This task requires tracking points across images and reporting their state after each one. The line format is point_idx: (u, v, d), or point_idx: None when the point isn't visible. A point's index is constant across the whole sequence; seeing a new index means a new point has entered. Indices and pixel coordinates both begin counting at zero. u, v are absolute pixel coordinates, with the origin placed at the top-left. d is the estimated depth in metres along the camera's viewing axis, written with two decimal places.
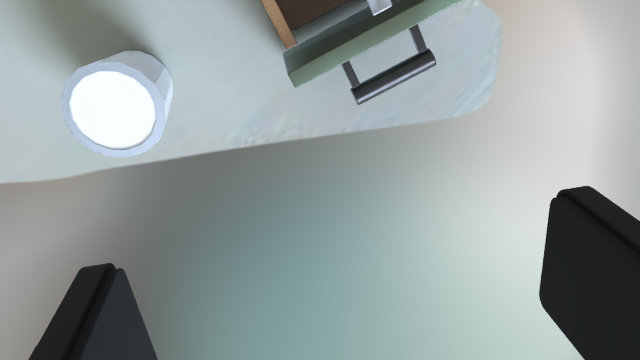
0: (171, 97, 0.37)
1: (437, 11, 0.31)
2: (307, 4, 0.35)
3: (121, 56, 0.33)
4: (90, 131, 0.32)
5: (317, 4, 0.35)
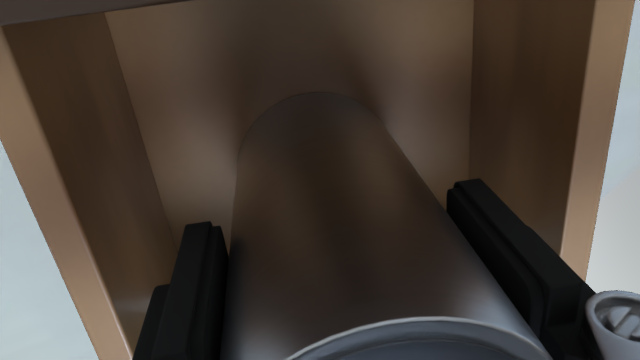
0: None
1: None
2: None
3: None
4: None
5: None
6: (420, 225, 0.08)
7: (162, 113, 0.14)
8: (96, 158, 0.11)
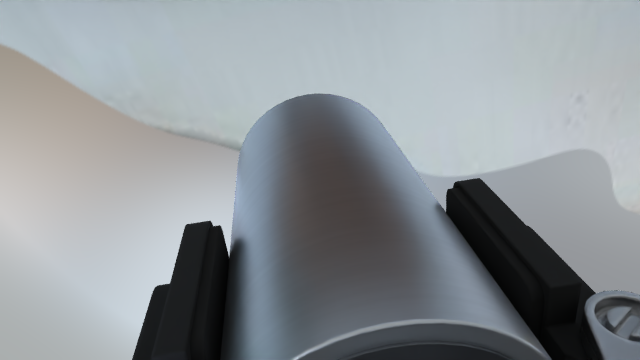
0: None
1: None
2: None
3: None
4: None
5: None
6: (420, 228, 0.08)
7: None
8: None
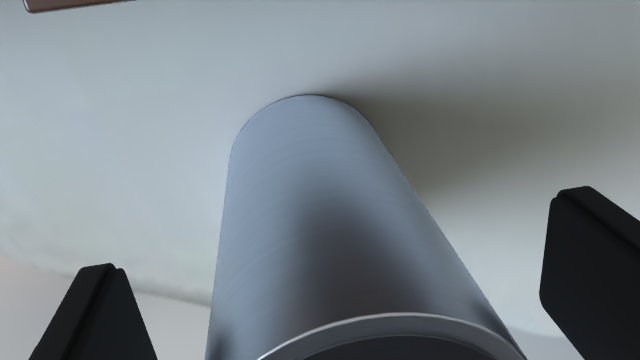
0: None
1: None
2: None
3: None
4: None
5: None
6: (399, 226, 0.08)
7: None
8: None
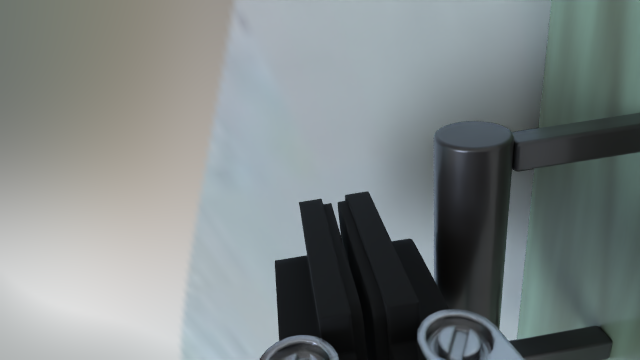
0: None
1: None
2: None
3: None
4: None
5: None
6: None
7: None
8: None
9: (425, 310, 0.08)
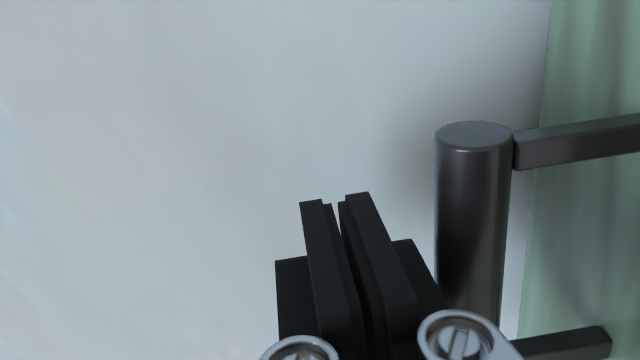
0: None
1: None
2: None
3: None
4: None
5: None
6: None
7: None
8: None
9: (425, 310, 0.08)
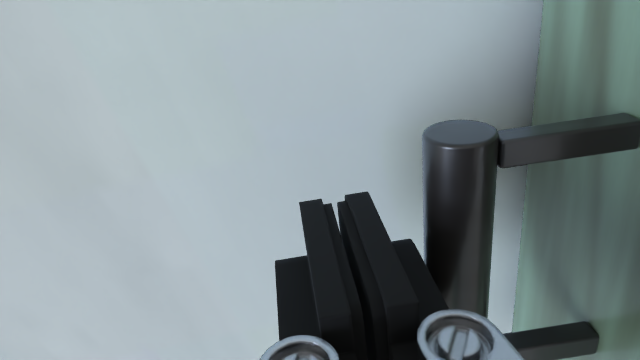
0: None
1: None
2: None
3: None
4: None
5: None
6: None
7: None
8: None
9: (424, 310, 0.08)
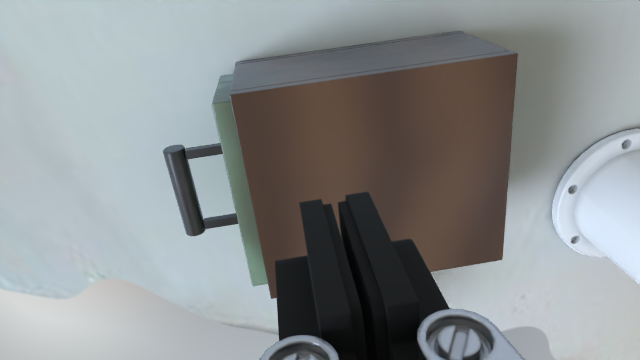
0: None
1: (247, 254, 0.32)
2: None
3: None
4: None
5: None
6: None
7: None
8: None
9: (425, 310, 0.08)
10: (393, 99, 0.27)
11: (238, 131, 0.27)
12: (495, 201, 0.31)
